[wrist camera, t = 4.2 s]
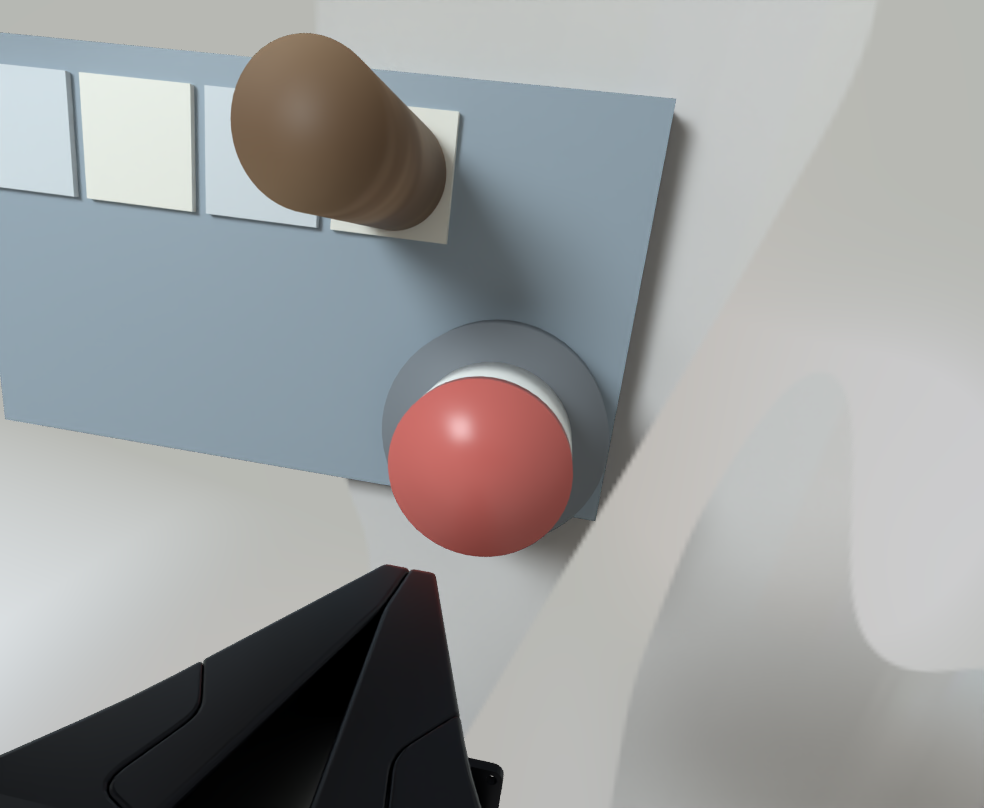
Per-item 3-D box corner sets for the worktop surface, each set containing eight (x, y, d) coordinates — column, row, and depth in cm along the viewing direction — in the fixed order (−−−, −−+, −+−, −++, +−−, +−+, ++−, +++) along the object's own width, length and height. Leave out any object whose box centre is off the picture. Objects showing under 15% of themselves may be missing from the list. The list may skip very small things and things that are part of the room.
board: (590, 528, 21) (593, 562, 19) (30, 430, 23) (-32, 449, 21) (670, 108, 17) (687, 82, 15) (-9, 40, 19) (-90, 8, 17)
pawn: (440, 237, 18) (381, 222, 12) (336, 223, 18) (230, 203, 12) (452, 117, 17) (393, 41, 11) (341, 106, 17) (230, 25, 12)
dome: (558, 523, 18) (557, 571, 16) (409, 497, 19) (381, 539, 16) (583, 374, 17) (587, 396, 14) (422, 350, 18) (395, 367, 15)
